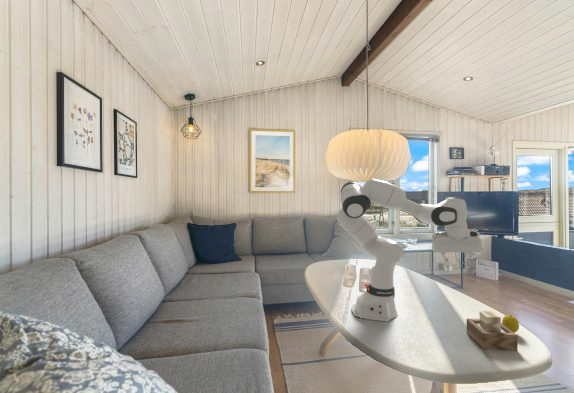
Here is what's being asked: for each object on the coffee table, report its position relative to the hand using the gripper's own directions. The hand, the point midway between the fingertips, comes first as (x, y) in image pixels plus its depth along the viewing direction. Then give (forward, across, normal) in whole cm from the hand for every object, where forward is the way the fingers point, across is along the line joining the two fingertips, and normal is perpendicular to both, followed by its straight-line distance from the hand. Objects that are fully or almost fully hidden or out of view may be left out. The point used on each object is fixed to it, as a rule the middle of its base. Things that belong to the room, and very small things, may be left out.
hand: (456, 261), depth 121 cm
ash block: (+24, +6, -14) cm, 28 cm away
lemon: (+29, +18, -7) cm, 35 cm away
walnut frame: (+29, +6, -14) cm, 33 cm away
